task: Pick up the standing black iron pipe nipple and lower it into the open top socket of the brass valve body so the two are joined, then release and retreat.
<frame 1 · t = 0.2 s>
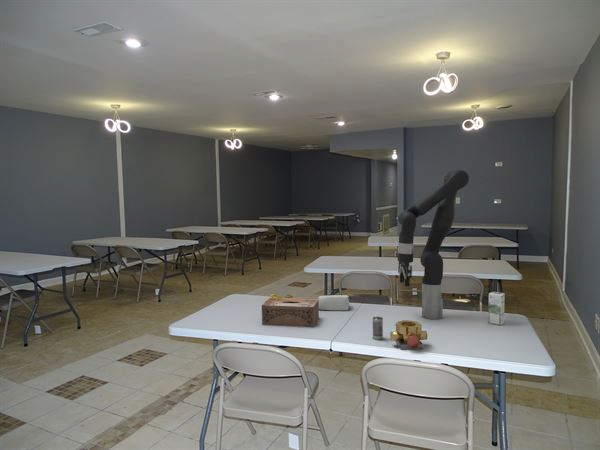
hand: (404, 284, 205), 17 cm above the table, tool pointing down, fingers open, 8 cm apart
valve: (408, 345, 170), on the table
syrup box: (496, 323, 196), on the table
white flat block: (328, 305, 234), on the table
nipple: (377, 338, 179), on the table
sprinkler: (279, 305, 236), on the table
tissue box cover: (291, 322, 205), on the table
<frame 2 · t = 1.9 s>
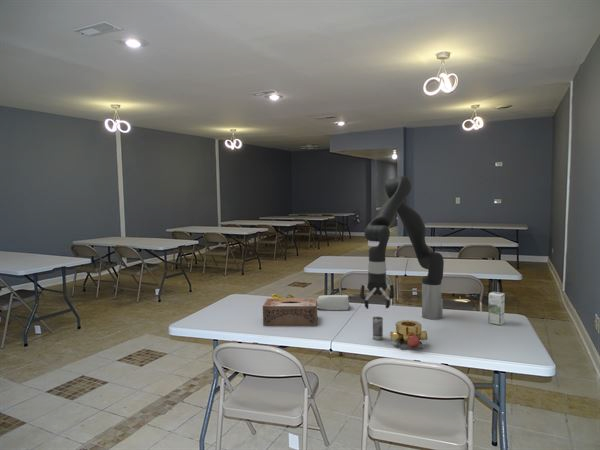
hand: (376, 308, 178), 13 cm above the table, tool pointing down, fingers open, 8 cm apart
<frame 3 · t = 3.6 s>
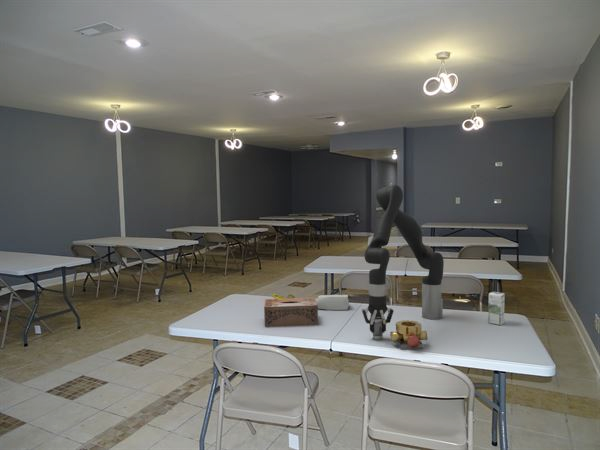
hand: (377, 332, 179), 3 cm above the table, tool pointing down, fingers closed on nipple, 4 cm apart
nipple: (377, 338, 179), on the table, touching gripper
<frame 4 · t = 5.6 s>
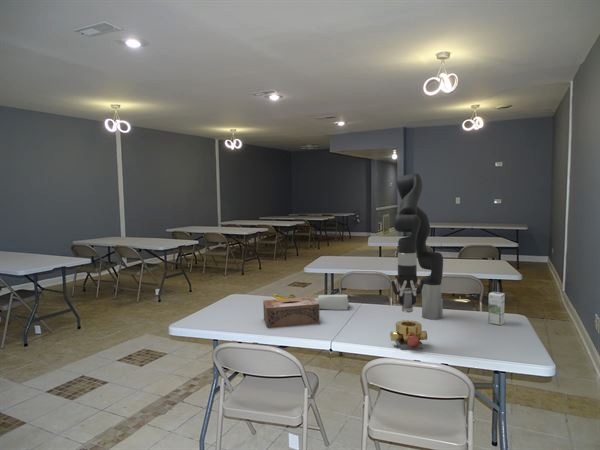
hand: (407, 304, 169), 17 cm above the table, tool pointing down, fingers closed on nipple, 4 cm apart
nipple: (407, 310, 169), point 14 cm above the table, touching gripper
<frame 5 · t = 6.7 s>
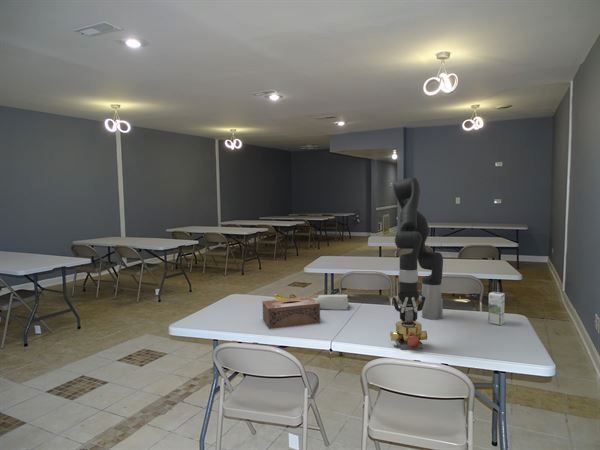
hand: (408, 320, 169), 10 cm above the table, tool pointing down, fingers closed on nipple, 4 cm apart
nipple: (408, 327, 169), point 8 cm above the table, touching gripper
when the fingers open (10 cm above the table, at t = 7.4 s): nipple drops 1 cm, resting on valve.
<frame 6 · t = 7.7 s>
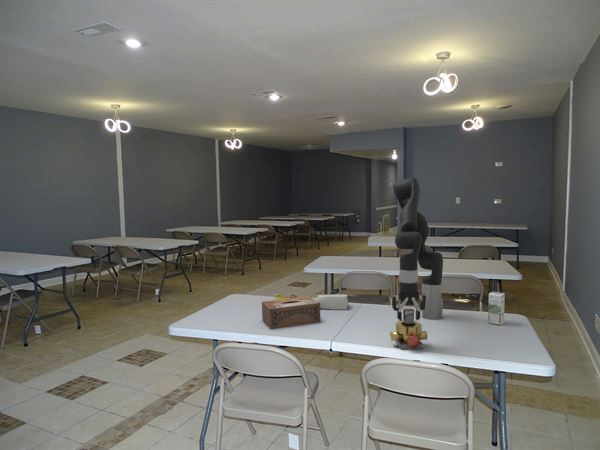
hand: (408, 319, 169), 11 cm above the table, tool pointing down, fingers open, 6 cm apart
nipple: (408, 330, 170), point 6 cm above the table, touching valve
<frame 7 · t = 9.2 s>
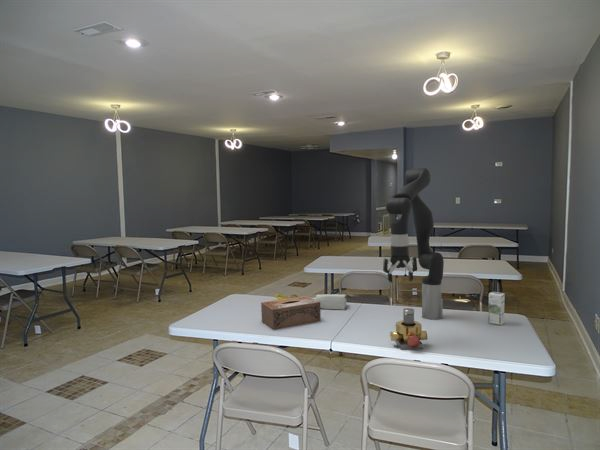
hand: (400, 281, 177), 25 cm above the table, tool pointing down, fingers open, 8 cm apart
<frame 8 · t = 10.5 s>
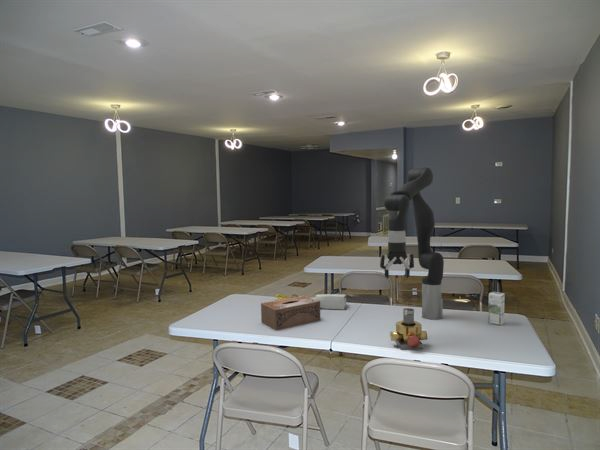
hand: (396, 277, 179), 26 cm above the table, tool pointing down, fingers open, 8 cm apart
at the end: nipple 0.0 cm off-centre on the valve, point 6.0 cm above the valve's base; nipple tilted 0°; the gripper is holding nothing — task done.
